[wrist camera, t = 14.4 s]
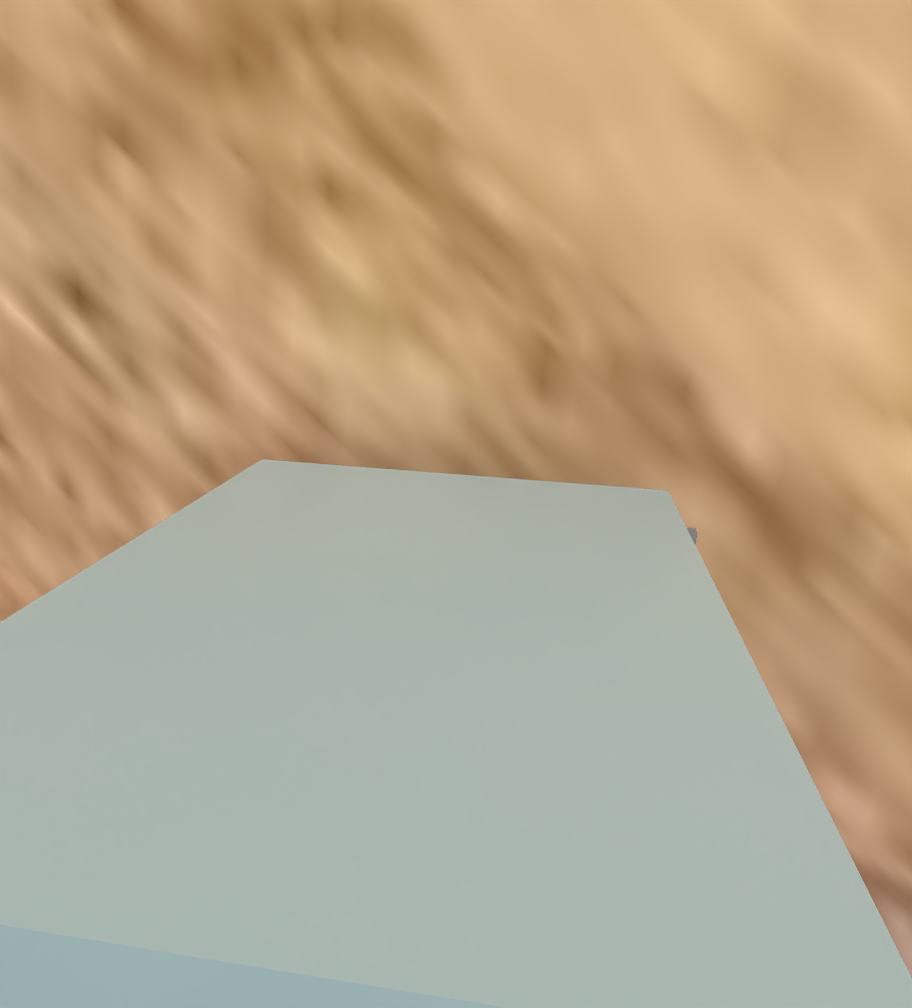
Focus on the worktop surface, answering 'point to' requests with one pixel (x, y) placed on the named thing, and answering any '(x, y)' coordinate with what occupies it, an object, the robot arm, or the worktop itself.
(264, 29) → the worktop surface
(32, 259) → the worktop surface
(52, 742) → the light blue block
